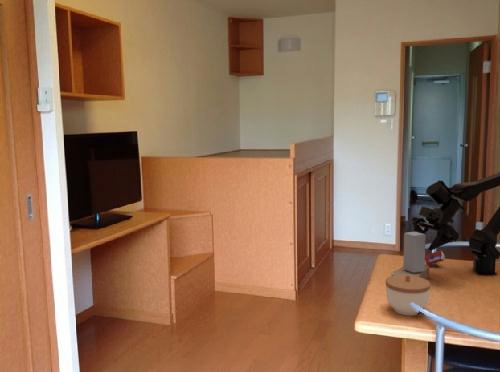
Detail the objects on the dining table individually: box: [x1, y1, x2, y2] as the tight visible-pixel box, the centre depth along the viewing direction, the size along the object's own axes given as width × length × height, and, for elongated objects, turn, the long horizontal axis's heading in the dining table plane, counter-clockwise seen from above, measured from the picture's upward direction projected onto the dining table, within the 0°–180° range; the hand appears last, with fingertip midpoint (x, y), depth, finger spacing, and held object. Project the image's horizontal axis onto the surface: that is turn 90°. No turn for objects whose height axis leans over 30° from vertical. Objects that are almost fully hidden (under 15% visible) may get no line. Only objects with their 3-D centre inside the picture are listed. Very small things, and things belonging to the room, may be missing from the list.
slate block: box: [402, 231, 427, 273], centre depth 164 cm, size 5×5×13 cm
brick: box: [390, 264, 431, 280], centre depth 166 cm, size 17×8×5 cm, turn 141°
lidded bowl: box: [385, 275, 431, 316], centre depth 140 cm, size 13×13×11 cm
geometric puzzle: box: [425, 249, 445, 268], centre depth 183 cm, size 7×7×8 cm
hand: (420, 246), depth 164 cm, fingers open, 9 cm apart
